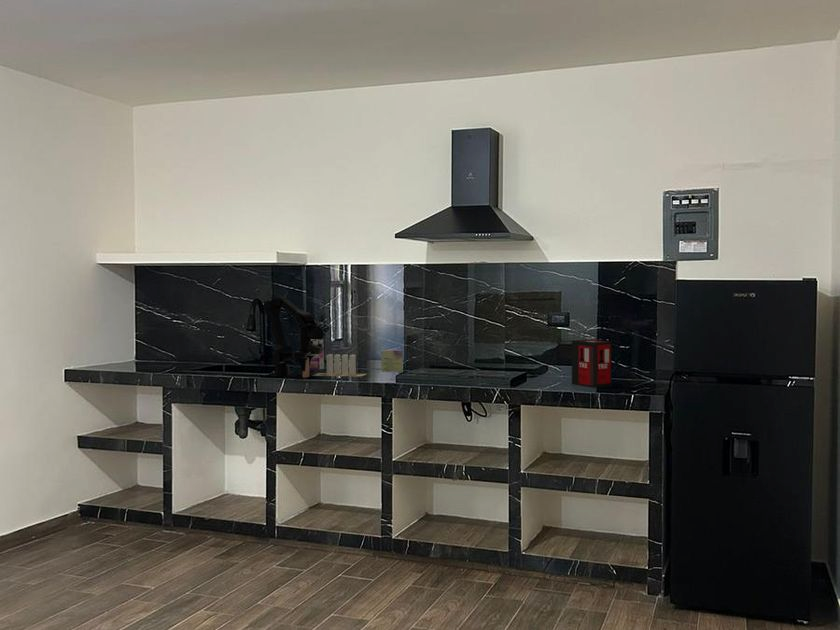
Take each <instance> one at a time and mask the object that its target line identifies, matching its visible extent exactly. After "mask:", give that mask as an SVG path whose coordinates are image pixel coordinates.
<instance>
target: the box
mask: <svg viewBox="0 0 840 630" xmlns="http://www.w3.org/2000/svg"><path fill="white" fill-rule="evenodd" d="M380 355H381V358H380V360H381V363H380V364H381V365H380V366H381V372H384V373H385V372H397V374H402V373H401V372H403V349H381V354H380Z"/></svg>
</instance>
